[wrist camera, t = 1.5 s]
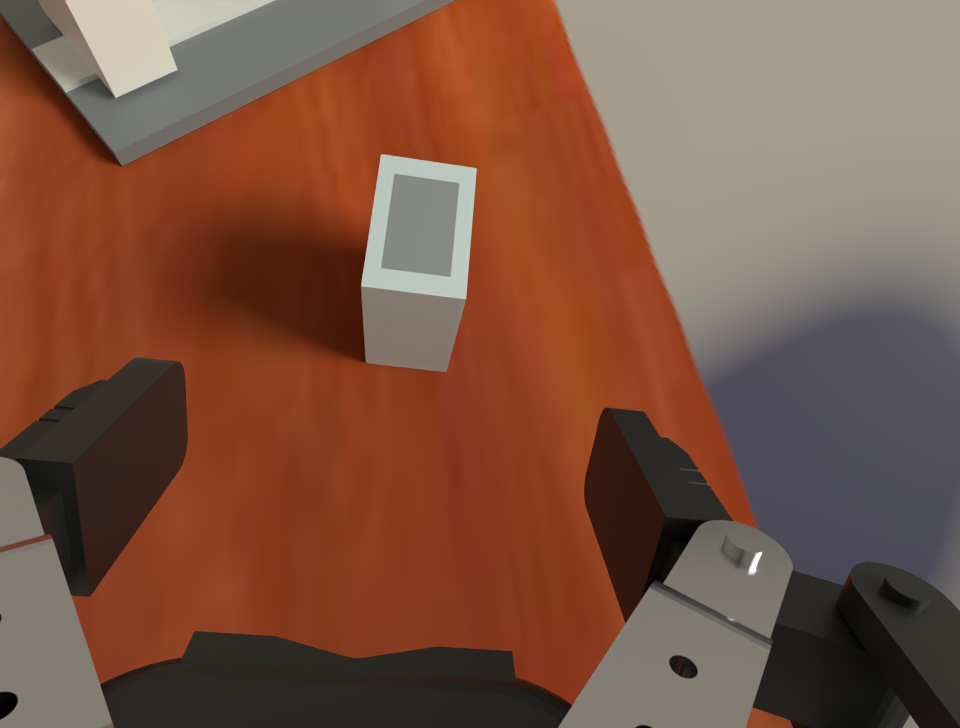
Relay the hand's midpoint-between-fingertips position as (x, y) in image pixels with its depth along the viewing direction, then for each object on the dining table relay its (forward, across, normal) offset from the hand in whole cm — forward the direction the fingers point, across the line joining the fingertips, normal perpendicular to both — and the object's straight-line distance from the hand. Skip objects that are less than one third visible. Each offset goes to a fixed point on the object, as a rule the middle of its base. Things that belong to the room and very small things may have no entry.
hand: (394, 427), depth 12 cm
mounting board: (+40, +13, -10) cm, 43 cm away
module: (+33, +20, -6) cm, 40 cm away
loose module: (+24, 0, +6) cm, 25 cm away
